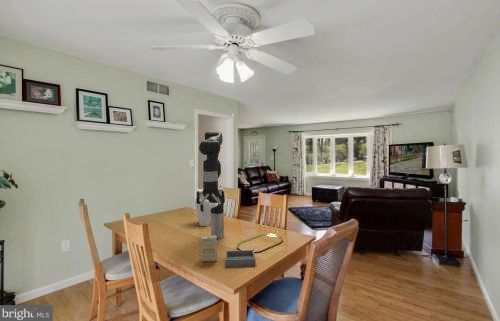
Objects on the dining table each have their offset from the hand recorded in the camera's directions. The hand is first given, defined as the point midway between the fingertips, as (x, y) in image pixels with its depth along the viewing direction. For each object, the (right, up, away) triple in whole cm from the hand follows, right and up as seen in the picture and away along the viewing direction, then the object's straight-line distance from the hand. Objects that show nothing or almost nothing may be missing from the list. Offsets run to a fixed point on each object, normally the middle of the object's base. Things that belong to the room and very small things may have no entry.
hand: (210, 211), depth 123 cm
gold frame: (+27, -28, +33) cm, 51 cm away
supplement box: (-3, -29, +10) cm, 31 cm away
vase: (-17, -27, +74) cm, 81 cm away
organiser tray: (+15, -29, +8) cm, 33 cm away
